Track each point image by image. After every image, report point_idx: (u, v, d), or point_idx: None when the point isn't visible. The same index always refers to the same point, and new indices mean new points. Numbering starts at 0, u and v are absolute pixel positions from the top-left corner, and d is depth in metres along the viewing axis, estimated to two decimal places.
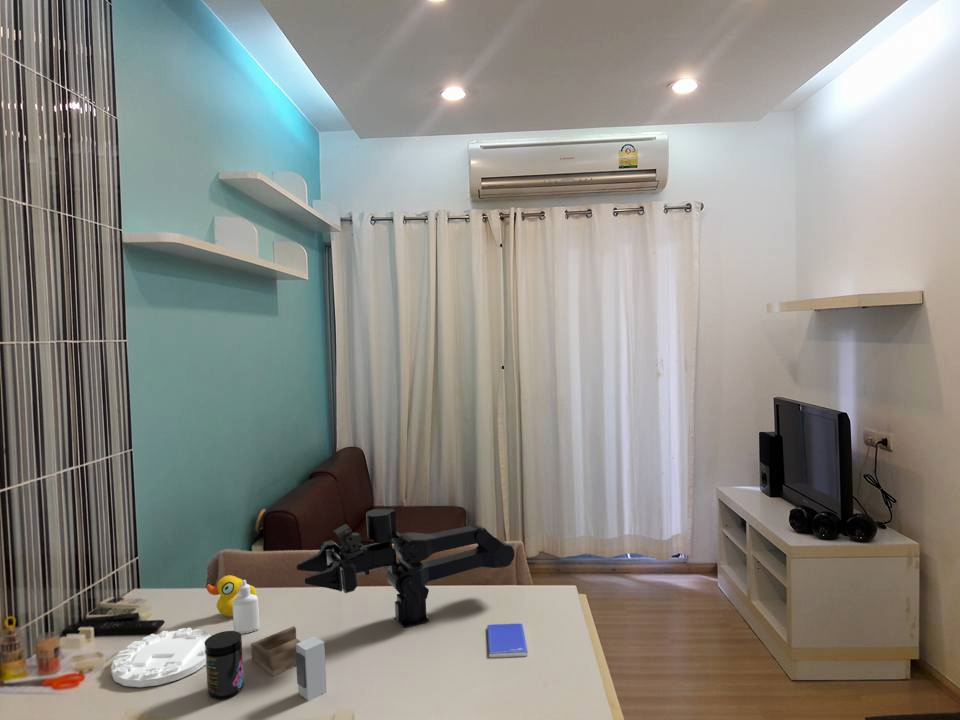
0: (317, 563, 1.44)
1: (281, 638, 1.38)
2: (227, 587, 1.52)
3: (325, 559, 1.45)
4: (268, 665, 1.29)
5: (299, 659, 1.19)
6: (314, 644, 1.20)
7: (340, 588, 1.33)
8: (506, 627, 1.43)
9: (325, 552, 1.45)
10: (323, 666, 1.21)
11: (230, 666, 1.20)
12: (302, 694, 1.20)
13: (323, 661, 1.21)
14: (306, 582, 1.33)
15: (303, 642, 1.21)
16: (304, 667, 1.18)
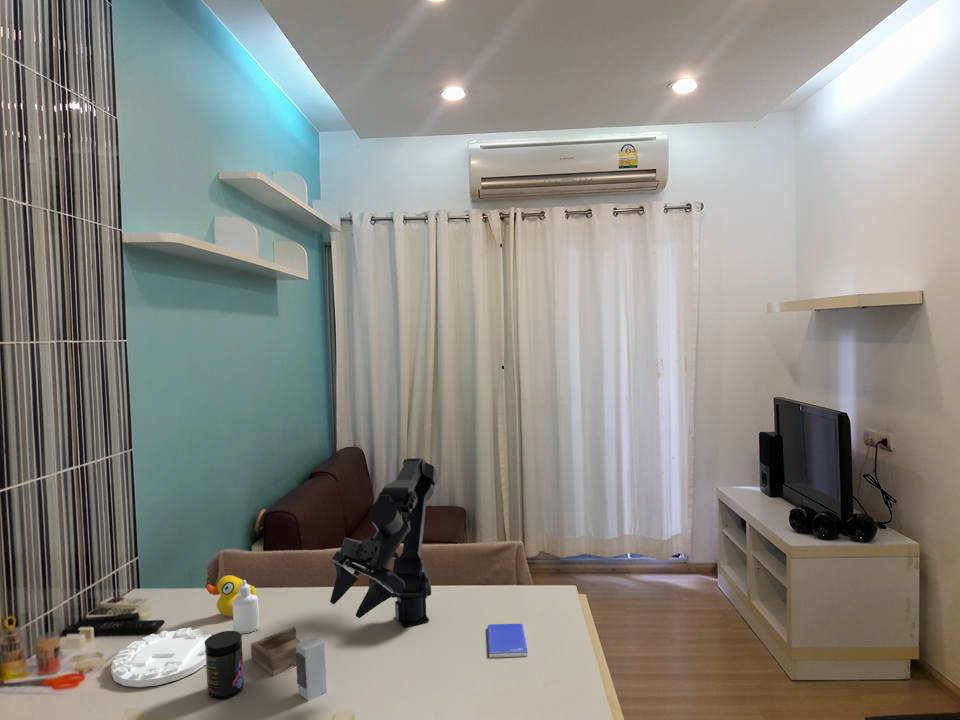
0: (344, 582, 1.32)
1: (281, 638, 1.38)
2: (227, 587, 1.52)
3: (348, 573, 1.32)
4: (268, 665, 1.29)
5: (299, 659, 1.19)
6: (313, 644, 1.20)
7: (392, 595, 1.25)
8: (506, 627, 1.43)
9: (343, 568, 1.32)
10: (323, 666, 1.21)
11: (230, 666, 1.20)
12: (302, 694, 1.20)
13: (323, 661, 1.21)
14: (359, 616, 1.23)
15: (303, 642, 1.21)
16: (304, 667, 1.18)
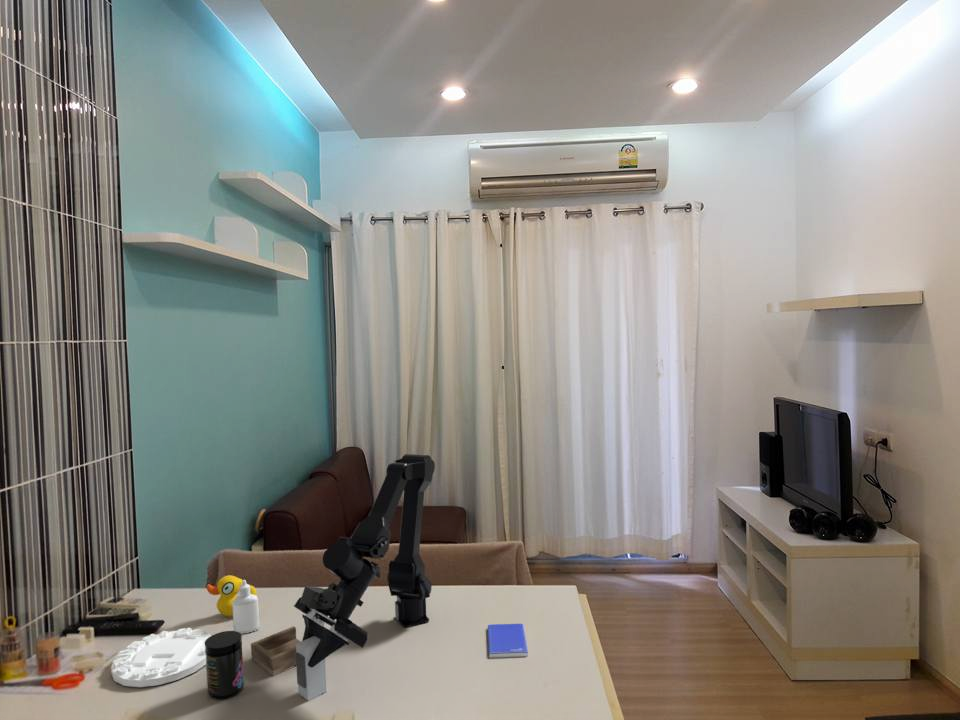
0: None
1: (281, 638, 1.38)
2: (227, 587, 1.52)
3: (317, 625, 1.24)
4: (268, 665, 1.29)
5: (299, 659, 1.19)
6: (313, 644, 1.20)
7: (346, 643, 1.20)
8: (507, 627, 1.43)
9: (312, 621, 1.24)
10: (323, 666, 1.21)
11: (230, 666, 1.20)
12: (302, 694, 1.20)
13: (323, 661, 1.21)
14: (312, 666, 1.18)
15: (303, 642, 1.21)
16: (304, 667, 1.18)
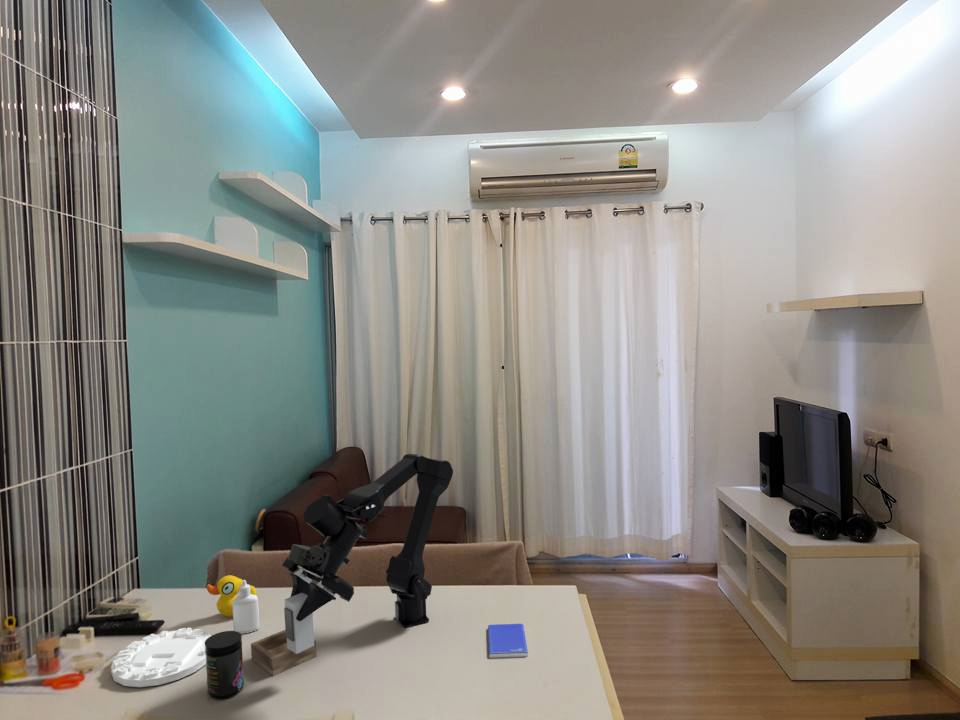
0: (301, 592, 1.28)
1: (281, 638, 1.38)
2: (227, 587, 1.52)
3: (305, 583, 1.29)
4: (268, 665, 1.29)
5: (287, 613, 1.23)
6: (301, 599, 1.24)
7: (333, 598, 1.25)
8: (507, 627, 1.42)
9: (300, 578, 1.28)
10: (311, 620, 1.25)
11: (230, 666, 1.20)
12: (290, 647, 1.24)
13: (311, 616, 1.25)
14: (300, 620, 1.23)
15: (291, 598, 1.25)
16: (292, 621, 1.23)
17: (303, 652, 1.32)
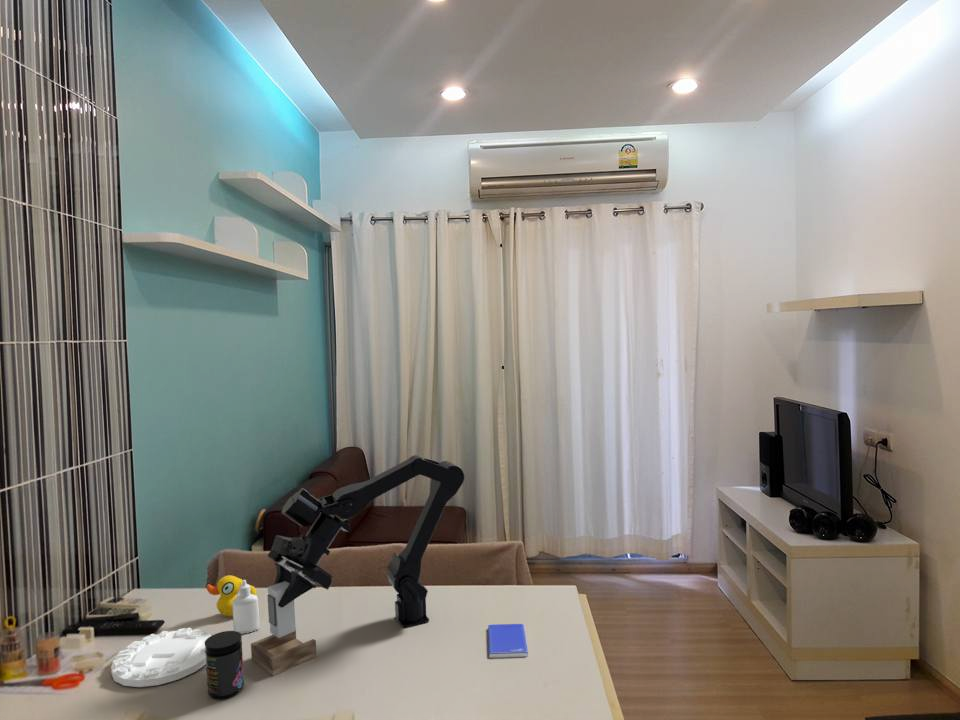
0: None
1: (281, 638, 1.38)
2: (227, 587, 1.52)
3: (288, 572, 1.37)
4: (268, 665, 1.29)
5: (270, 600, 1.32)
6: (283, 587, 1.33)
7: (313, 586, 1.33)
8: (507, 627, 1.42)
9: (283, 568, 1.36)
10: (292, 607, 1.33)
11: (230, 666, 1.20)
12: (273, 632, 1.33)
13: (292, 603, 1.33)
14: (282, 606, 1.31)
15: (274, 586, 1.33)
16: (274, 607, 1.31)
17: (303, 652, 1.32)
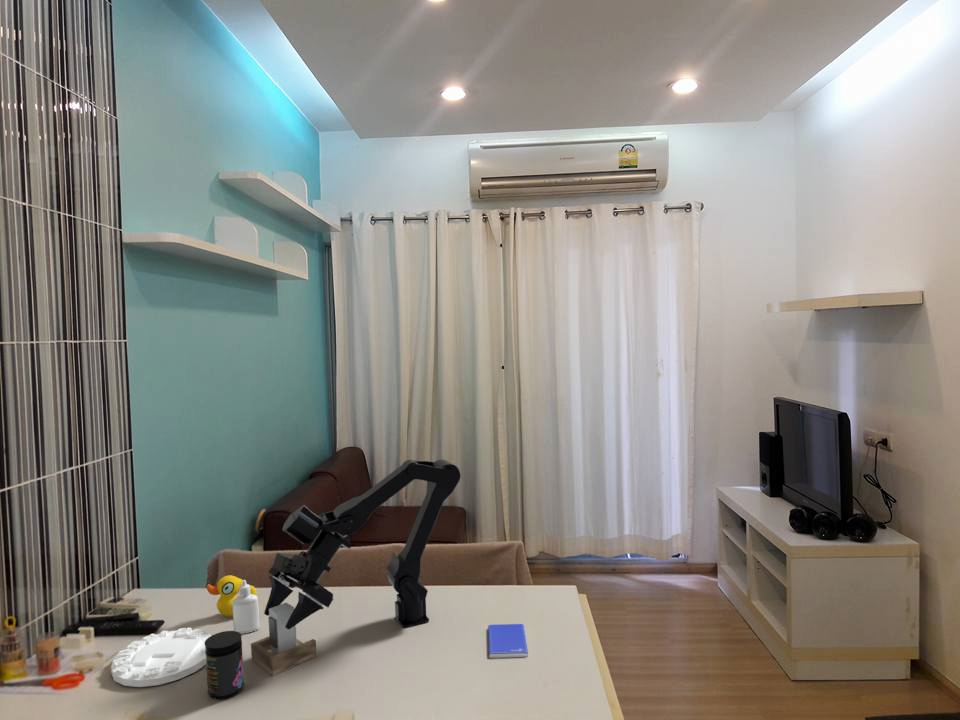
0: (279, 595, 1.38)
1: None
2: (227, 587, 1.52)
3: (282, 585, 1.39)
4: (268, 665, 1.29)
5: (271, 622, 1.32)
6: (284, 609, 1.33)
7: (321, 607, 1.31)
8: (507, 627, 1.42)
9: (278, 581, 1.39)
10: (293, 629, 1.34)
11: (230, 666, 1.20)
12: (274, 654, 1.33)
13: None
14: (289, 628, 1.30)
15: (275, 607, 1.34)
16: (275, 629, 1.31)
17: (303, 652, 1.32)
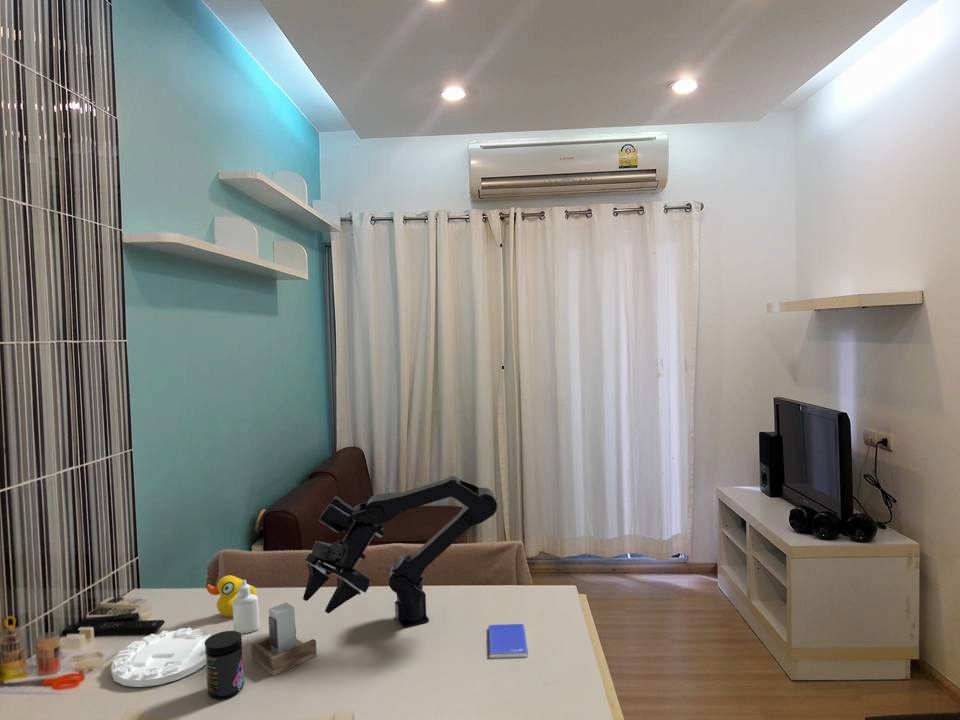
0: (316, 581, 1.45)
1: None
2: (227, 587, 1.52)
3: (320, 572, 1.46)
4: (268, 665, 1.29)
5: (271, 622, 1.32)
6: (284, 609, 1.33)
7: (358, 593, 1.38)
8: (507, 627, 1.42)
9: (315, 568, 1.45)
10: (293, 629, 1.34)
11: (230, 666, 1.20)
12: (274, 654, 1.33)
13: (293, 624, 1.34)
14: (328, 612, 1.36)
15: (275, 607, 1.34)
16: (275, 629, 1.31)
17: (303, 652, 1.32)
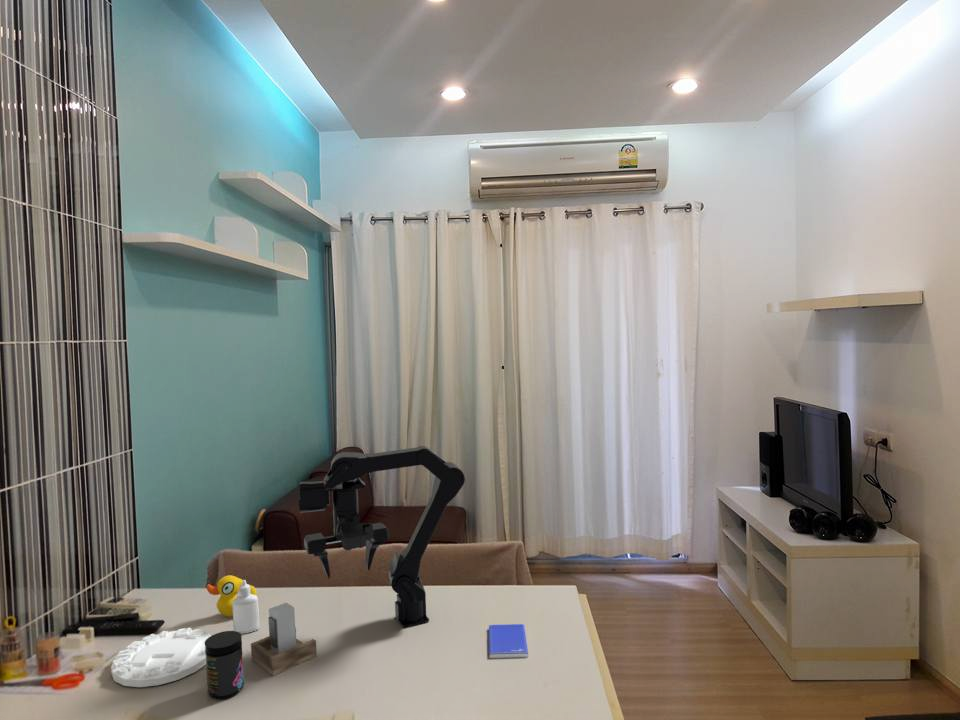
0: None
1: None
2: (227, 587, 1.52)
3: None
4: (268, 665, 1.29)
5: (271, 622, 1.32)
6: (284, 609, 1.33)
7: None
8: (508, 628, 1.42)
9: None
10: (293, 629, 1.34)
11: (230, 666, 1.20)
12: (274, 654, 1.33)
13: (293, 624, 1.34)
14: None
15: (275, 607, 1.34)
16: (275, 629, 1.31)
17: (303, 652, 1.32)
